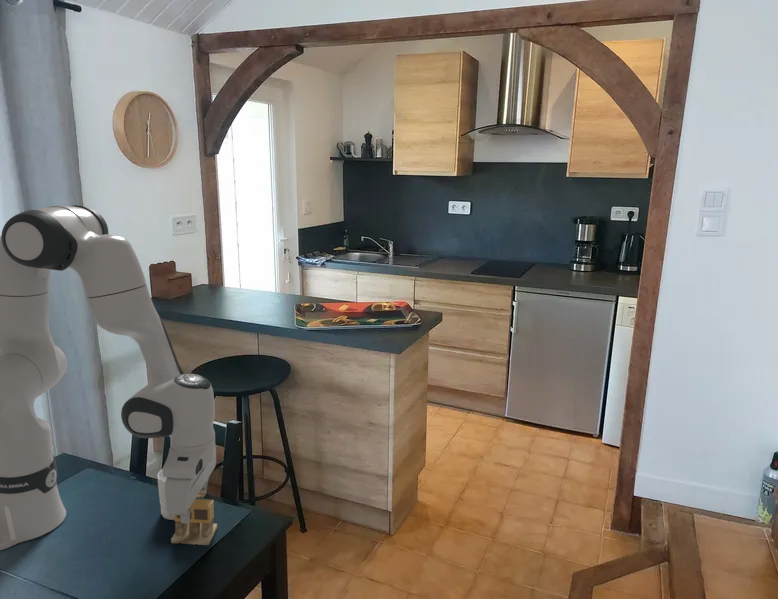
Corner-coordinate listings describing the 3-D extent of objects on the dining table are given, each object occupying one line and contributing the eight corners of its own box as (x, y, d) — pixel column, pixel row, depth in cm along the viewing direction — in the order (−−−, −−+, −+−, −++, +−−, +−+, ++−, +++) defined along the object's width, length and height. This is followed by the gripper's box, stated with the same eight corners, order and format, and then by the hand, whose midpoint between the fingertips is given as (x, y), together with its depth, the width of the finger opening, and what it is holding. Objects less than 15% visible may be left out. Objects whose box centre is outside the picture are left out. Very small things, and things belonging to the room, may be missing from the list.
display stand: (171, 543, 117) (170, 526, 116) (181, 525, 123) (181, 509, 122) (208, 545, 117) (208, 528, 116) (217, 527, 123) (217, 511, 122)
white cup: (182, 524, 123) (181, 484, 121) (151, 518, 125) (149, 479, 122) (201, 504, 131) (200, 467, 129) (171, 499, 132) (170, 461, 130)
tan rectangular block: (174, 521, 118) (174, 505, 117) (179, 514, 120) (178, 497, 119) (209, 523, 118) (209, 507, 117) (213, 516, 120) (213, 500, 119)
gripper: (195, 426, 126) (196, 481, 129) (158, 474, 106) (160, 537, 109) (223, 428, 126) (223, 482, 129) (191, 476, 106) (192, 538, 109)
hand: (194, 508), depth 118 cm, fingers open, 8 cm apart
